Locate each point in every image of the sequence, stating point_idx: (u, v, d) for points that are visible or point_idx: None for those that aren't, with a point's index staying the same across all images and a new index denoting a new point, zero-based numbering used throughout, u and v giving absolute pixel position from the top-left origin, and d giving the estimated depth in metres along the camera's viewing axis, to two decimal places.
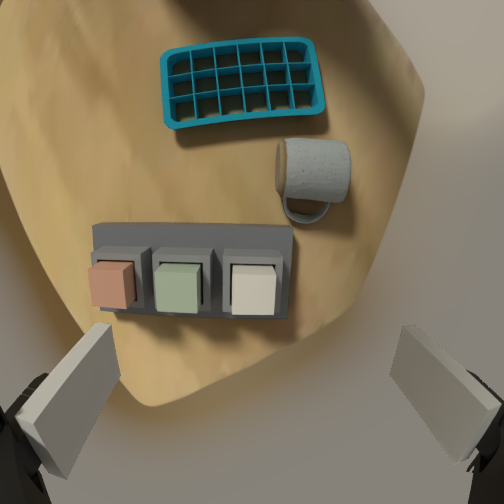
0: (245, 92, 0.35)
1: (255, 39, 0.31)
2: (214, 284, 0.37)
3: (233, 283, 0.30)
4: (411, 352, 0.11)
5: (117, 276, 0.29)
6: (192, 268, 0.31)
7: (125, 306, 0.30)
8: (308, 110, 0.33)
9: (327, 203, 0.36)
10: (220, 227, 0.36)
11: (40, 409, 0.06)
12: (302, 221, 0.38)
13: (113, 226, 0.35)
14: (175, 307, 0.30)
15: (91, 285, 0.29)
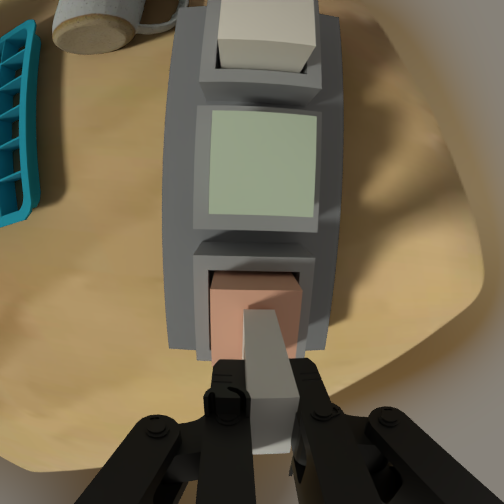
0: None
1: None
2: None
3: (239, 37, 0.11)
4: None
5: (224, 302, 0.14)
6: None
7: (296, 292, 0.14)
8: (29, 34, 0.15)
9: None
10: (167, 110, 0.18)
11: (269, 384, 0.08)
12: (184, 5, 0.17)
13: (167, 310, 0.21)
14: (302, 168, 0.12)
15: None
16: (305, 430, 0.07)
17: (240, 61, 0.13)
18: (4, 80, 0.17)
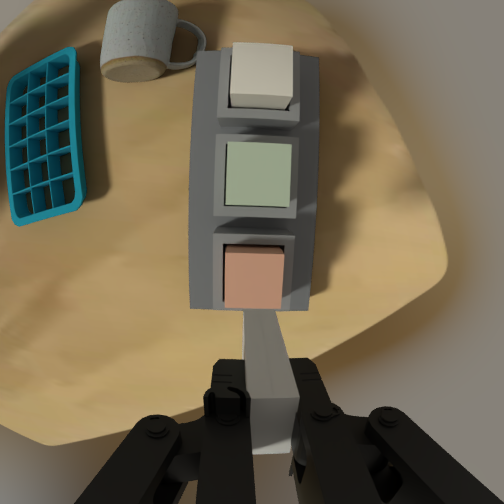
0: None
1: (6, 130, 0.24)
2: None
3: (244, 92, 0.19)
4: None
5: (234, 261, 0.22)
6: None
7: (280, 255, 0.22)
8: (71, 60, 0.23)
9: (180, 22, 0.23)
10: (192, 132, 0.26)
11: (269, 385, 0.08)
12: (203, 46, 0.25)
13: (190, 277, 0.29)
14: (282, 176, 0.20)
15: (249, 305, 0.23)
16: (305, 430, 0.07)
17: (244, 103, 0.21)
18: (50, 97, 0.25)
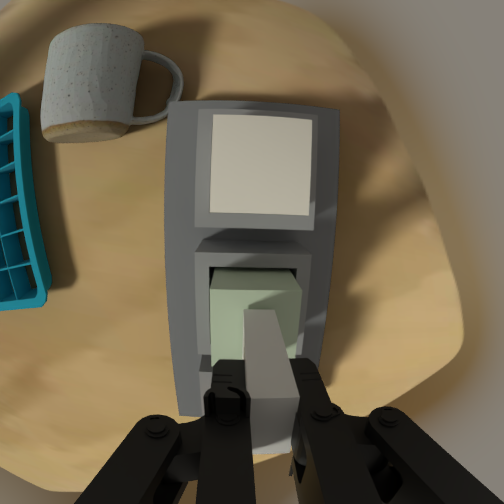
0: (8, 198, 0.21)
1: None
2: (270, 238, 0.21)
3: (232, 209, 0.13)
4: None
5: None
6: None
7: None
8: (15, 111, 0.17)
9: (147, 54, 0.18)
10: (166, 226, 0.20)
11: (269, 385, 0.08)
12: (179, 89, 0.20)
13: (177, 389, 0.23)
14: (287, 333, 0.15)
15: None
16: (305, 430, 0.07)
17: None
18: None
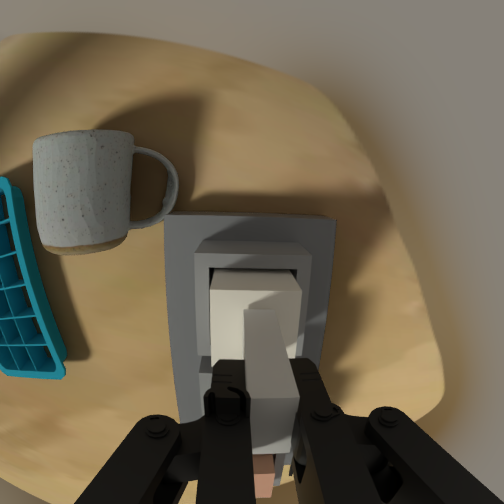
0: (14, 278, 0.23)
1: None
2: None
3: None
4: None
5: None
6: None
7: (271, 474, 0.18)
8: (8, 199, 0.19)
9: (138, 151, 0.19)
10: (170, 331, 0.22)
11: (269, 384, 0.08)
12: (174, 190, 0.21)
13: None
14: None
15: None
16: (305, 430, 0.07)
17: None
18: None
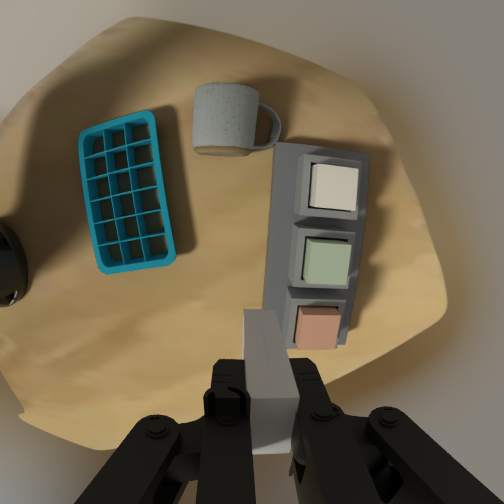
0: (137, 188, 0.37)
1: (83, 185, 0.34)
2: (330, 225, 0.36)
3: (324, 206, 0.29)
4: None
5: (308, 320, 0.32)
6: (307, 245, 0.32)
7: (338, 316, 0.32)
8: (151, 125, 0.33)
9: (260, 105, 0.33)
10: (272, 215, 0.35)
11: (269, 385, 0.08)
12: (278, 130, 0.35)
13: None
14: (343, 266, 0.31)
15: (314, 347, 0.33)
16: (305, 430, 0.07)
17: None
18: (130, 158, 0.35)
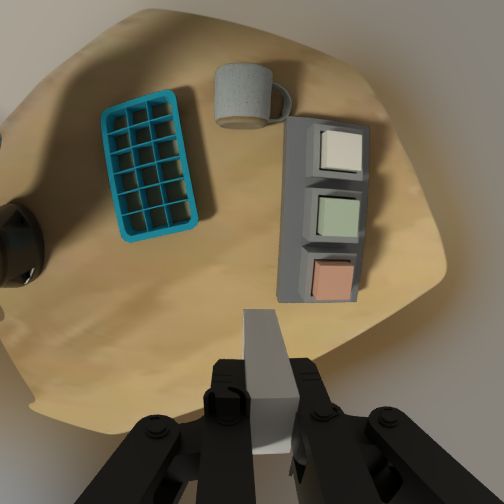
0: (159, 160, 0.39)
1: (107, 159, 0.37)
2: (337, 188, 0.39)
3: (334, 166, 0.32)
4: None
5: (325, 271, 0.35)
6: (321, 202, 0.35)
7: (351, 266, 0.35)
8: (172, 102, 0.36)
9: (272, 84, 0.36)
10: (286, 179, 0.39)
11: (269, 385, 0.08)
12: (289, 106, 0.38)
13: (281, 281, 0.42)
14: (354, 219, 0.34)
15: (331, 298, 0.36)
16: (305, 430, 0.07)
17: None
18: (152, 133, 0.38)
